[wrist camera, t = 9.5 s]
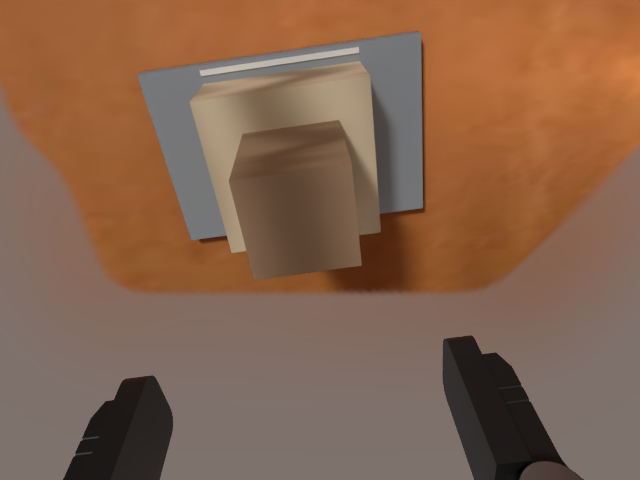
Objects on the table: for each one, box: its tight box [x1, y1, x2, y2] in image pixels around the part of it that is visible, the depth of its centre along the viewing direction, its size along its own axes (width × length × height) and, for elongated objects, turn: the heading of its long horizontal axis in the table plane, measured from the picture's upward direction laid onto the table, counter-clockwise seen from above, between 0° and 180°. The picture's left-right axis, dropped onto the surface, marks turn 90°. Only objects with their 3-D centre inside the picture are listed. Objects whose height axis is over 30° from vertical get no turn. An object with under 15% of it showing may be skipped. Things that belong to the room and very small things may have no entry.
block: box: [229, 120, 362, 280], centre depth 22 cm, size 5×5×6 cm
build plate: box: [137, 31, 423, 240], centre depth 28 cm, size 16×11×1 cm
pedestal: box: [190, 61, 381, 253], centre depth 26 cm, size 9×9×4 cm
